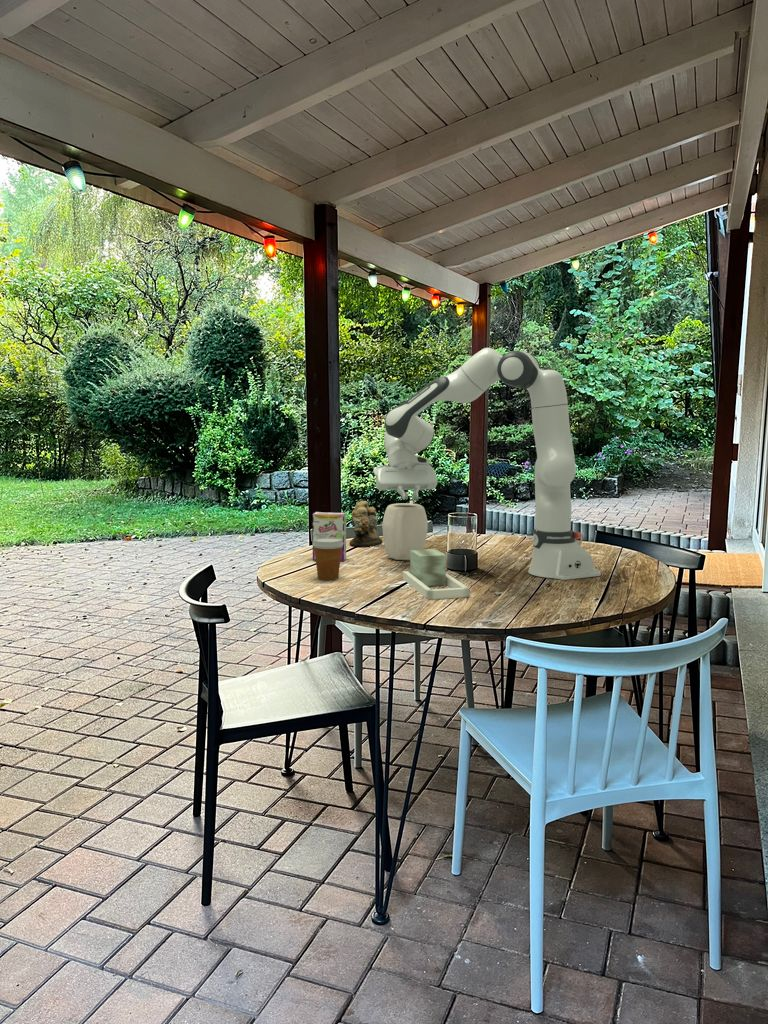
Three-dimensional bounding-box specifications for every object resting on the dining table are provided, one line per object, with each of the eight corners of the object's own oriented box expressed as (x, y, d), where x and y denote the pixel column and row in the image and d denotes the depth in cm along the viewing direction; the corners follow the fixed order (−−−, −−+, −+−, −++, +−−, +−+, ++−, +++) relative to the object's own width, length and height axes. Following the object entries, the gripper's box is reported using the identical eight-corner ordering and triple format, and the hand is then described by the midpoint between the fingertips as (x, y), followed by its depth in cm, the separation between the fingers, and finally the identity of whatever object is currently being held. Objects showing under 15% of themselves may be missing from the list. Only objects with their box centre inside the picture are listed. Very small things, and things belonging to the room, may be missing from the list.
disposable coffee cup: (315, 582, 216) (315, 542, 214) (310, 575, 225) (309, 537, 223) (346, 580, 218) (346, 541, 217) (340, 573, 228) (339, 536, 226)
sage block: (435, 577, 222) (435, 548, 220) (445, 585, 212) (446, 555, 211) (410, 579, 220) (410, 550, 219) (419, 586, 210) (419, 556, 209)
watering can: (432, 551, 266) (432, 500, 263) (421, 565, 240) (422, 509, 237) (390, 549, 269) (391, 499, 266) (376, 563, 243) (376, 508, 240)
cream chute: (440, 577, 223) (440, 569, 223) (469, 597, 199) (469, 588, 198) (402, 579, 220) (402, 571, 220) (427, 600, 196) (427, 591, 195)
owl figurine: (372, 549, 270) (372, 504, 268) (343, 547, 274) (342, 503, 271) (387, 541, 287) (387, 498, 285) (359, 539, 291) (359, 497, 288)
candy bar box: (312, 561, 247) (311, 513, 245) (315, 558, 252) (314, 511, 250) (344, 561, 246) (344, 514, 244) (346, 559, 251) (346, 512, 249)
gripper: (373, 459, 235) (380, 492, 226) (433, 458, 239) (442, 491, 231) (370, 472, 239) (377, 504, 231) (429, 471, 244) (438, 503, 236)
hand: (410, 498), depth 231 cm, fingers open, 2 cm apart
